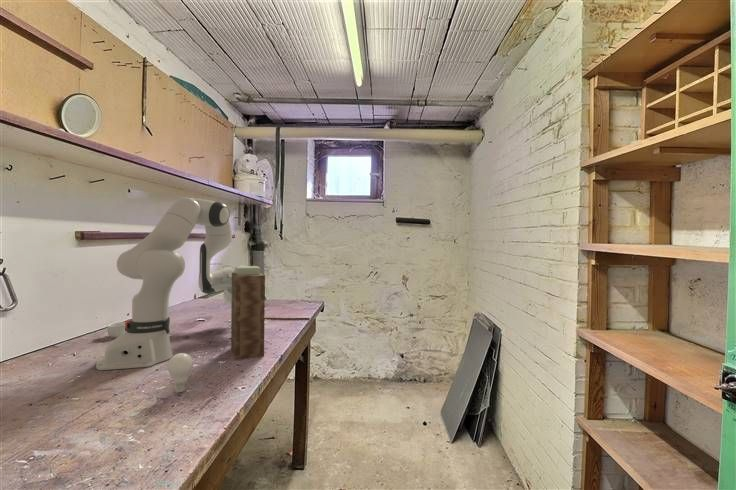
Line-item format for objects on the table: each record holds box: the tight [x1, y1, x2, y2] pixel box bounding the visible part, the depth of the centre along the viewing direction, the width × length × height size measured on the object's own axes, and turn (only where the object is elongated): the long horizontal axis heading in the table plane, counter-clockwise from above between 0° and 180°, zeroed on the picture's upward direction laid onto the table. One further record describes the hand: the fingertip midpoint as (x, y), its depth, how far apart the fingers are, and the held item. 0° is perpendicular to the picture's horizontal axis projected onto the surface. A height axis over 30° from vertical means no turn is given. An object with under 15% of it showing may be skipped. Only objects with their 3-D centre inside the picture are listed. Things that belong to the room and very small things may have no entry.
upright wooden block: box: [230, 272, 266, 361], centre depth 134 cm, size 10×14×30 cm
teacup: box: [106, 321, 126, 339], centre depth 152 cm, size 10×8×5 cm
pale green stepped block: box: [234, 264, 261, 275], centre depth 139 cm, size 8×19×2 cm, turn 27°
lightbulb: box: [166, 352, 194, 394], centre depth 99 cm, size 6×6×11 cm
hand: (238, 275), depth 155 cm, fingers open, 8 cm apart
